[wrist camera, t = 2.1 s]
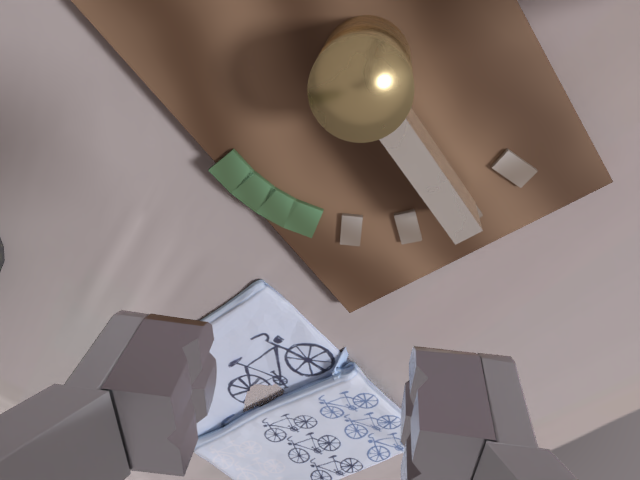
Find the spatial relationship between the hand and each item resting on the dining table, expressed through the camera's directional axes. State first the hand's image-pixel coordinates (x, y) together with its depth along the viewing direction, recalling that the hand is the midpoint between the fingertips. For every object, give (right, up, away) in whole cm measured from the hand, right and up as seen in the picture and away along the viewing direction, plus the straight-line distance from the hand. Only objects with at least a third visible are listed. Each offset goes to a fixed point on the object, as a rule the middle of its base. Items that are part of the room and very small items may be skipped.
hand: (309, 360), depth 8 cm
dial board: (+1, +11, +18) cm, 21 cm away
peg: (+5, +8, +18) cm, 20 cm away
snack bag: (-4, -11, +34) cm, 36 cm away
